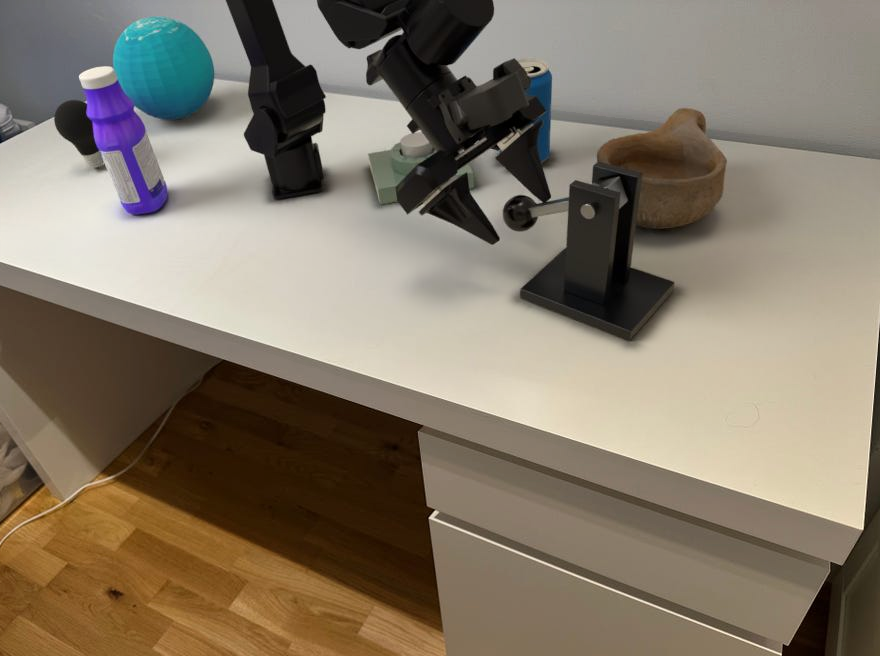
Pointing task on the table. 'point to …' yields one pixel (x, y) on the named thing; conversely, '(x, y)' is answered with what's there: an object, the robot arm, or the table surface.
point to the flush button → (415, 146)
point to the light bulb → (78, 130)
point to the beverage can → (540, 99)
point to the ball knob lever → (547, 206)
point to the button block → (398, 171)
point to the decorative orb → (163, 67)
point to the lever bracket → (600, 261)
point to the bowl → (672, 169)
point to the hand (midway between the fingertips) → (523, 220)
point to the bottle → (123, 142)
